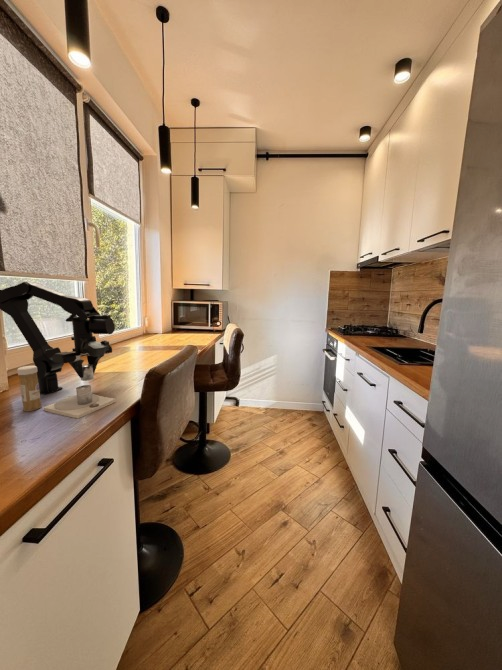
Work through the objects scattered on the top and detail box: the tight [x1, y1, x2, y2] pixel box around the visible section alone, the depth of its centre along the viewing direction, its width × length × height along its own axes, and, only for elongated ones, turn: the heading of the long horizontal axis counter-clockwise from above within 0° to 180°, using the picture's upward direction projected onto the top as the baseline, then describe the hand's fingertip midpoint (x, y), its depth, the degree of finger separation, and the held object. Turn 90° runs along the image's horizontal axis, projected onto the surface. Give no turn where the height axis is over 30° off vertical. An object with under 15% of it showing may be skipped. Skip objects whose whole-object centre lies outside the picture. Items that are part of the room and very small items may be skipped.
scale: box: [42, 393, 116, 420], centre depth 84 cm, size 15×13×2 cm
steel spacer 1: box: [80, 363, 95, 382], centre depth 95 cm, size 4×4×5 cm
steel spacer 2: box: [75, 384, 93, 405], centre depth 82 cm, size 4×4×5 cm
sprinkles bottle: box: [16, 365, 42, 412], centre depth 80 cm, size 5×5×14 cm
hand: (87, 376), depth 96 cm, fingers closed on steel spacer 1, 4 cm apart
